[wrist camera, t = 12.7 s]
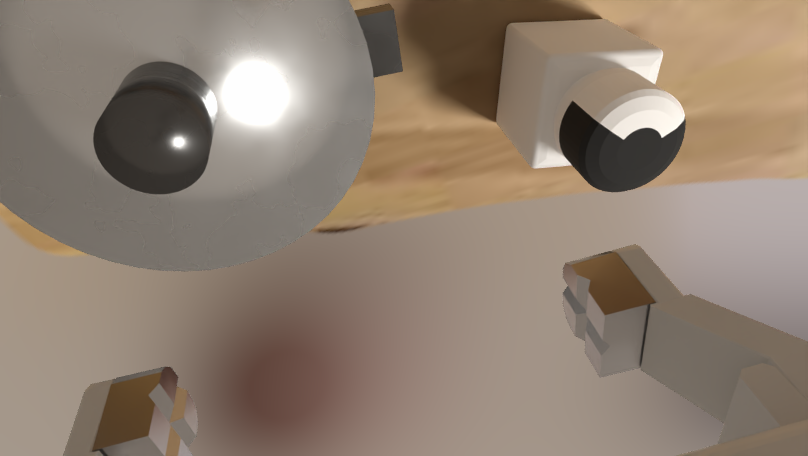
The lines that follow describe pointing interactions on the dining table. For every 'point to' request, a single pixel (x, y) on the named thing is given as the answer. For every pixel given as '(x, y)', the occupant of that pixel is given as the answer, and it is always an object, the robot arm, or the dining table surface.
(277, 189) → the lid
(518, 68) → the medicine bottle
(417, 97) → the dining table surface
